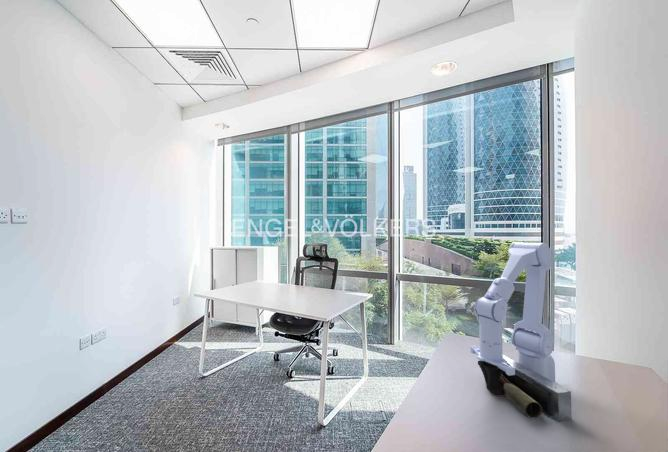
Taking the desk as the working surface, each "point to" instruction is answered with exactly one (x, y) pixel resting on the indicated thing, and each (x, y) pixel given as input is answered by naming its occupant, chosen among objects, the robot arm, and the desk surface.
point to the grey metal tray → (541, 391)
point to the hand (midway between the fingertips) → (491, 388)
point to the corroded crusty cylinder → (517, 397)
